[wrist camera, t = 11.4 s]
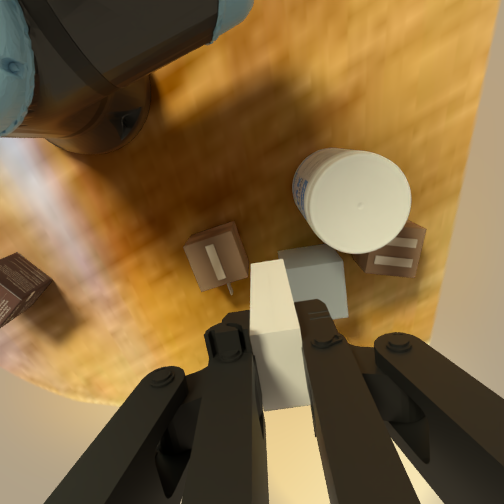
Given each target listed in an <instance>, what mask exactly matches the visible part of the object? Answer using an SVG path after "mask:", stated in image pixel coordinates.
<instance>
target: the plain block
mask: <svg viewBox="0 0 504 504" xmlns="http://www.w3.org/2000/svg"><path fill="white" fill-rule="evenodd" d="M278 257H279V259H283V261H284V265H285V269H286V273H287V277H288V281H289V285H290V289H291V294H292V298H293V302H299V301H305V300H312V299H319V300H321V301H322V302H324V303H325V304H326V306H327V308H328V311H329V313H330V315H331V318H332V319H339V318H347V317H348V306H347V296H346V285H345V275H344V265H343V260H342V259H341V257H340V256H339V255H338V253H337V252H336V251H335V249H334V248H332V247H330V246H329V245H327V244H320V245H314V246H307V247H300V248H293V249H287V250H280V251H278Z"/></svg>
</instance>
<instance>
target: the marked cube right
mask: <svg viewBox="0 0 504 504" xmlns="http://www.w3.org/2000/svg"><path fill="white" fill-rule="evenodd" d="M425 233H426V229H425V228H423V227H421V226H419V225H417V224H415V223H413V222H411V221H409V220H407V221H406V223H405V225H404V227H403V228H402V230H401V231H400V233H399V234H398V235H397V236H396V237H395V238H394V239H393V240H392V241H391V242H389V243H388V244H387V245H385V246H383V247H382V248H380V249H377V250H375V251H372V252H368V253H363V254H354V255H353V259H354V260H355V262H356V263H357V264H358V265H359V266H360V268H361V269H362V270H363V271H364V272H365V273H370V274H380V275H390V276H400V277H410V278H415V275H416V271H417V267H418V263H419V258H420V254H421V250H422V246H423V242H424V237H425Z"/></svg>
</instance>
